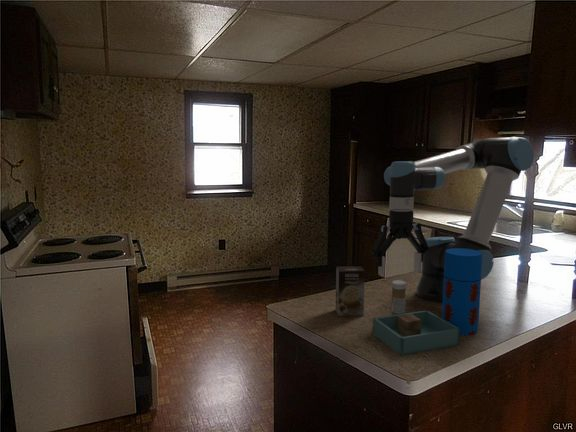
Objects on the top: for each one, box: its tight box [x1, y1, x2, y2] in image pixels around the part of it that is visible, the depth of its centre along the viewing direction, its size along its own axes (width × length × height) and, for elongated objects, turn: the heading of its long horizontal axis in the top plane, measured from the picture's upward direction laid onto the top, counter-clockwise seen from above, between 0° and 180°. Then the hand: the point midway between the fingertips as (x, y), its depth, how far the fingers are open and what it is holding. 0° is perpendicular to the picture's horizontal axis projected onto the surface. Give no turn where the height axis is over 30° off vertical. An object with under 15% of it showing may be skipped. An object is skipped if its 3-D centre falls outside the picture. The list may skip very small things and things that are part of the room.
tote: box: [372, 310, 461, 356], centre depth 129 cm, size 20×16×5 cm
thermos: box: [441, 248, 482, 336], centre depth 135 cm, size 11×11×25 cm
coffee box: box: [335, 266, 366, 317], centre depth 150 cm, size 9×6×16 cm
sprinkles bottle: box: [391, 279, 407, 315], centre depth 142 cm, size 5×5×14 cm
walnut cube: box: [397, 314, 421, 337], centre depth 132 cm, size 5×5×5 cm
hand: (399, 273), depth 141 cm, fingers open, 13 cm apart
